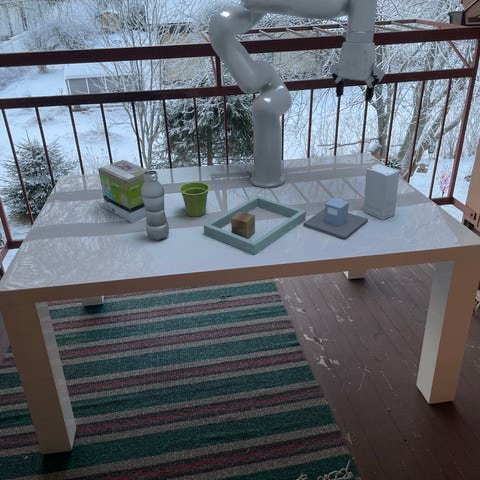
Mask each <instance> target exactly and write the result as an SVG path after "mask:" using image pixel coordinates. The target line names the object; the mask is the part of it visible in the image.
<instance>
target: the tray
mask: <svg viewBox="0 0 480 480" xmlns="http://www.w3.org/2000/svg"><path fill="white" fill-rule="evenodd" d="M258 207H259V208H260V209H264V210H266V211H267V210H268V211H271V212H273V213H276V214H279V215H282V216H286V217H288V219H286V220H284V221H283V222H282V223H280V224H279V225H277V226H275V227H274V228H272V229H271V230H269V231H268V232H265V234H263V235H262V236H260V237H259V238H256V240H253V241H252V240H251V239H246V238H243V237H241V236H238V235H236V234H233V233H232V231H231V232H230V231H228V230H224V229H223V227H225V226H226V225H229V224H231V218H232V217H234V216H235V215H236V214H237V213H238V212H244V213H250V212H251V211H252V210H255V209H256V208H258ZM306 219H307V211H306V210H303V209H300V208H297V207H295V206H292V205H291V206H290V205H288V204H285V203H281V202H280V201H279V202H278V201H276V200H272V199H268V198H265V197H262V196H259V195H255V196H254V197H251V198H250V199H249V200H247V201H245V202H243V203H241V204H240V205H237V206H236V207H234V208H232V209H230V210H229V211H227V212H225V213H223V214H221V215H219V216H217V217H216V218H214V219H212V220H210V221H209V222H206V223H204V224H203V234H204V235H206V236H208V237H211V238H213V239H215V240H218V241H219V242H220V241H221V242H223V243H225V244H227V245H230V246H233V247H235V248H238V249H240V250H242V251H244V252H247V253H249V254H252V255H256V254H258V253H260V252H261V251H263V250H264V249H265V248H267V247H268V246H270V245H271V244H272V243H274V242H276V241H277V240H278V239H279V238H281V237H283V236H284V235H286V234H287V233H288V232H290V231H292V230H293V229H294V228H296V227H297V226H299V225H300V224H302V223H304V222H306V221H307V220H306Z"/></svg>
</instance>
